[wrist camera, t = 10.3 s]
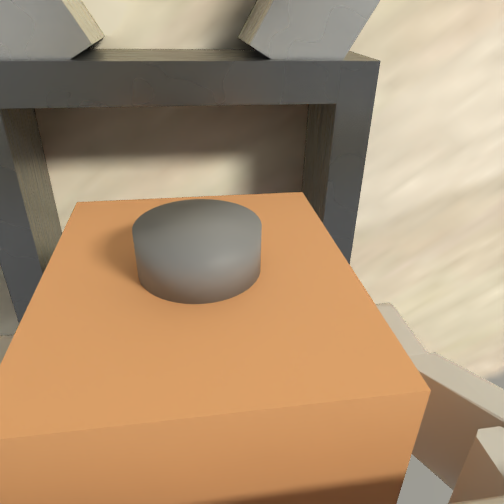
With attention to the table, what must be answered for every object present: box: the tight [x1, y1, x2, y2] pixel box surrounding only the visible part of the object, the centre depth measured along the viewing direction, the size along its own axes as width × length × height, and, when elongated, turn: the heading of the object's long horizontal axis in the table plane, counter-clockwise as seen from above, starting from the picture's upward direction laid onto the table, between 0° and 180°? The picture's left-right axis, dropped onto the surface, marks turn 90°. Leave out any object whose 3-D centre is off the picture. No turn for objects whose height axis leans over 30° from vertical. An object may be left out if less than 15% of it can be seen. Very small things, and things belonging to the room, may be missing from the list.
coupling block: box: [0, 192, 431, 504], centre depth 9 cm, size 5×7×6 cm
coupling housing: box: [0, 0, 380, 324], centre depth 12 cm, size 13×16×2 cm
